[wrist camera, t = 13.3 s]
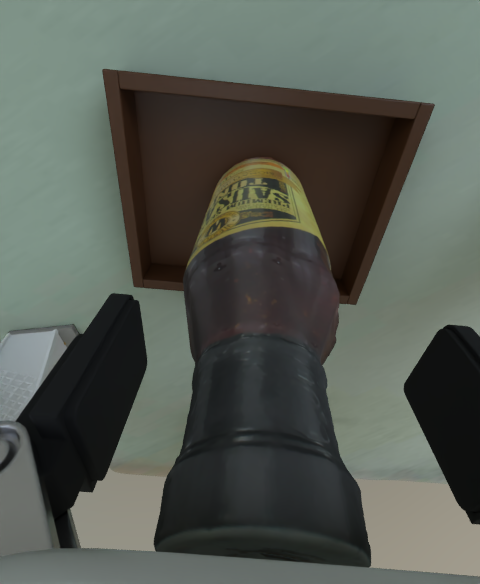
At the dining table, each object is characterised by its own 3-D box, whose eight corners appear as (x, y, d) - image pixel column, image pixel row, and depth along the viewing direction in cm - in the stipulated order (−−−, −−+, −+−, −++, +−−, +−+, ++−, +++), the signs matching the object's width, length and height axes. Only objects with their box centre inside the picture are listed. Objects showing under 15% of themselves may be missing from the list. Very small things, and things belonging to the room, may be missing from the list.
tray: (409, 101, 18) (435, 104, 16) (345, 283, 26) (356, 305, 24) (122, 70, 18) (101, 68, 15) (144, 267, 25) (133, 287, 23)
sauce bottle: (274, 132, 19) (448, 434, 3) (315, 212, 22) (514, 587, 6) (193, 188, 21) (9, 547, 5) (240, 254, 24) (228, 615, 8)
